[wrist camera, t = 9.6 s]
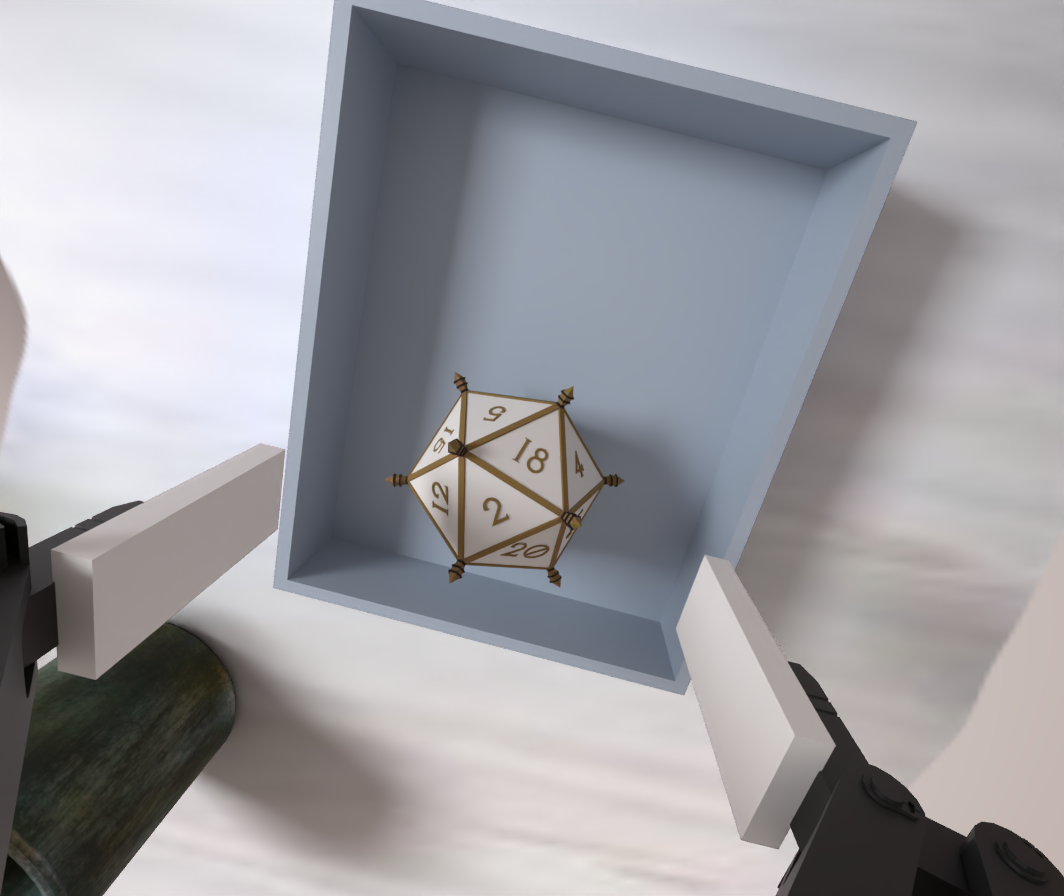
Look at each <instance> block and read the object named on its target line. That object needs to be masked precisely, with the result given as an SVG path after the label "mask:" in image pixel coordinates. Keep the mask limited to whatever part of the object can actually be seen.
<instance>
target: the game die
mask: <svg viewBox="0 0 1064 896" xmlns="http://www.w3.org/2000/svg"><path fill="white" fill-rule="evenodd" d="M465 378H466V377H463V376H461V375H459V374H458V373H456V372H455V379H454V384H456V386H457V387H456V388H457V389H459V390H460V392H461V395H460V396H459V398H458V399H457V401H456V403H455V404H454V406H453V407H452V409H451V410H450V412H449V413H448V415H447V416H446V418H445V420H444V421H443V423H442V424H441V426H440V427H439V429H438V430H437V432H436V433H435V435H434V436H433V438H432V440H431V441H430V443H429V444H428V446H427V447H426V449H425V450H424V452H423V453H422V455H421V456H420V458H419V460H418V461H417V463H416V464H415V466H414V467H413V469H412V470H411V472H410V473H409V475H408V476H403V475H402V474H399V475H396V474H393V476H391V477H389V478H387V479H385V481H387V482H389V483H390V484H392V485H393V486H394V487H395V486H400V487H401V486H402V485H405V484H407V485H408V486H409V487H410V489H411V490H412V492H413V493H414V495H415V496H416V498H417V499H418V501H419V503H420V504H421V506H422V507H423V509H424V510H425V512H426V513H427V515H428V516H429V518H430V519H431V521H432V523H433V524H434V526H435V527H436V529H437V530H438V532H439V533H440V535H441V536H442V538H443V539H444V541H445V543H446V544H447V546H448V547H449V549H450V550H451V552H452V553H453V555H454V556H455V558H456V560H457V562H456V563H455V564H452V568H451V569H449V570H448V573H449V584H450V583H452V582H454V581H456V580H457V579H461V578H462V574H463V573H465V571H464V567H465V565H471V566H488V567H506V568H523V569H541V570H547V571H548V576H547V577H548V578H549V579H550V583H553V584H555V585H556V586H558V587H560V585H561V578H562V577H561V575H559V571H558V570H556V569H555V568H554V566H555V564H556V563H557V561H558V559H559V558H560V556H561V555H562V553H563V551H564V550H565V548H566V546H567V545H568V543H569V542H570V540H571V538H572V537H573V535H574V533H575V532H576V530H577V528H578V527H582V525H581V522H582V520H583V519H584V517H585V515H586V514H587V512H588V510H589V509H590V507H591V506H592V504H593V502H594V501H595V499H596V497H597V496H598V494H599V492H600V491H601V489H602V488H603V486H604V485H609V486H611V487H612V486H615V487H618V485H619V484H621V483H623V482H624V480H623V479H621V478H620V477H618V476H617V474H615V475H611V474H610V475H609V476H606V477H605V476H603V474H602V473H601V471H600V469H599V467H598V466H597V464H596V462H595V460H594V459H593V457H592V455H591V453H590V452H589V450H588V448H587V446H586V445H585V443H584V441H583V439H582V438H581V436H580V434H579V432H578V431H577V429H576V427H575V425H574V424H573V422H572V420H571V418H570V417H569V415H568V413H567V411H566V410H565V408H564V407H565V406H566V405H567V404H570V401H571V400H574V397H573V389H574V386H572V387H570V388H568V389H566V390H565V389H564V390H561V392H562V393H561V394H560V395H558V402H553V401H546V400H538V399H531V398H523V397H516V396H508V395H501V394H494V393H486V392H479V391H471V390H469V389H468V387H467V384H468V382H466V380H465Z"/></svg>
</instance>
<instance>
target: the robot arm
mask: <svg viewBox="0 0 1064 896" xmlns="http://www.w3.org/2000/svg"><path fill="white" fill-rule="evenodd" d="M284 457H285V449H281V448H277V447H273V446H269V445H265V444H261V443H260V444H258V445H256V446H254V447H252V448H250V449H249V450H247V451H245V452H243V453H241V454H239V455H237V456H235V457H233V458H231V459H229V460H227V461H225V462H223V463H221V464H219V465H217V466H215V467H213V468H211V469H209V470H207V471H205V472H203V473H201V474H199V475H197V476H195V477H193V478H191V479H189V480H187V481H185V482H183V483H181V484H179V485H177V486H176V487H174V488H172V489H170V490H168V491H166V492H164V493H162V494H160V495H158V496H156V497H154V498H152V499H150V500H148V501H146V502H142V501H135V502H131V503H127V504H123V505H119V506H115V507H112V508H110V509H108V510H106V511H104V512H102V513H100V514H97V515H95V516H93V517H92V519H87V520H85V521H83V522H81V523H79V524H77V525H75V527H74V528H72V527H70V528H68V529H66V530H64V531H62V532H60V533H58V534H56V535H54V536H52V537H50V538H48V539H46V540H44V541H41V542H39V543H37V544H35V545H33V546H31V547H29V548H28V535H27V525H26V522H25V519H23V518H21V517H19V516H17V515H14V514H8V513H3V512H0V894H1V889H2V883H3V877H4V871H5V865H6V859H7V853H8V847H9V842H10V836H11V830H12V824H13V818H14V812H15V806H16V800H17V795H18V789H19V783H20V777H21V771H22V765H23V759H24V753H25V747H26V742H27V736H28V730H29V724H30V718H31V712H32V706H33V700H34V695H35V689H36V683H37V677H38V667H37V660H38V659H39V658H40V657H42V656H43V655H45V654H46V653H48V652H49V651H50V650H52V649H53V648H55V647H56V646H57V662H58V671H62V672H66V673H70V674H74V675H78V676H82V677H86V678H90V679H94V680H96V679H98V678H99V677H100V676H101V675H102V674H104V673H105V672H106V671H107V670H108V669H110V668H111V667H112V666H113V665H114V664H116V663H117V662H118V661H119V660H120V659H122V658H123V657H124V656H125V655H127V654H128V653H129V652H130V651H131V650H133V649H134V648H135V647H136V646H137V645H139V644H140V643H141V642H142V641H143V640H145V639H146V638H147V637H148V636H149V635H151V634H152V633H153V632H154V631H155V630H157V629H158V628H159V627H160V626H161V625H163V624H164V623H165V622H166V621H168V620H169V619H170V618H171V617H172V616H174V615H175V614H176V613H177V612H178V611H180V610H181V609H182V608H183V607H184V606H186V605H187V604H188V603H189V602H190V601H192V600H193V599H194V598H195V597H196V596H198V595H199V594H200V593H201V592H202V591H204V590H205V589H206V588H207V587H209V586H210V585H211V584H212V583H213V582H215V581H216V580H217V579H218V578H219V577H221V576H222V575H223V574H224V573H225V572H227V571H228V570H229V569H230V568H231V567H233V566H234V565H235V564H236V563H237V562H239V561H240V560H241V559H242V558H243V557H245V556H246V555H247V554H248V553H250V552H251V551H252V550H253V549H254V548H256V547H257V546H258V545H259V544H260V543H262V542H263V541H264V540H265V539H266V538H268V537H269V536H270V535H271V534H272V533H274V532H275V531H276V530H277V529H278V520H279V510H280V499H281V488H282V478H283V467H284ZM676 631H677V634H678V638H679V641H680V644H681V647H682V651H683V654H684V657H685V660H686V664H687V667H688V670H689V673H690V676H691V680H692V683H693V686H694V689H695V693H696V696H697V699H698V702H699V706H700V709H701V712H702V715H703V719H704V722H705V725H706V728H707V732H708V735H709V738H710V741H711V745H712V748H713V751H714V754H715V758H716V761H717V764H718V767H719V771H720V774H721V777H722V780H723V784H724V787H725V790H726V793H727V797H728V800H729V803H730V806H731V809H732V813H733V816H734V819H735V822H736V826H737V829H738V832H739V835H740V839H741V840H743V841H747V842H751V843H755V844H759V845H763V846H767V847H771V848H775V849H779V847H780V845H781V844H782V842H783V840H784V838H785V836H786V835H787V833H788V831H789V829H790V827H791V830H792V832H793V834H794V837H795V839H796V842H797V844H798V847H799V850H798V852H797V854H796V855H795V857H794V859H793V861H792V862H791V864H790V866H789V868H788V869H787V871H786V873H785V875H784V876H783V878H782V880H781V882H780V883H779V885H778V888H779V890H778V892H777V894H776V896H1064V877H1063V875H1062V874H1061V873H1060V872H1059V870H1057V868H1056V867H1055V866H1054V865H1053V864H1052V863H1051V862H1050V861H1049V860H1048V858H1047V857H1046V856H1045V855H1044V854H1043V853H1042V852H1041V851H1039V850H1038V849H1037V848H1035V847H1034V846H1033V845H1032V844H1031V843H1029V842H1028V841H1027V840H1025V839H1023V838H1021V837H1019V836H1018V835H1017V834H1015V833H1013V832H1012V831H1010V830H1008V829H1006V828H1003V827H1001V826H999V825H996V824H994V823H988V822H980V823H978V824H977V825H975V826H974V828H973V829H972V830H971V832H970V833H969V835H968V836H967V837H965V836H963V835H961V834H959V833H957V832H955V831H953V830H951V829H949V828H947V827H945V826H943V825H941V824H939V823H937V822H935V821H933V820H931V819H929V818H927V817H925V813H924V811H923V809H922V808H921V806H920V804H919V802H918V801H917V799H916V798H915V797H914V796H913V795H912V794H911V793H910V792H909V790H908V789H907V788H906V787H905V786H904V785H902V784H901V783H900V782H899V781H897V780H896V779H895V778H894V777H892V776H891V775H890V774H888V773H886V772H884V771H883V770H881V769H879V768H877V767H876V766H873V765H870V764H869V763H868V762H867V760H866V759H865V757H864V755H863V754H862V752H861V751H860V749H859V747H858V746H857V744H856V743H855V741H854V739H853V738H852V736H851V735H850V733H849V731H848V730H847V728H846V727H845V725H844V723H843V722H842V720H841V719H840V717H837V712H836V711H835V709H834V707H833V706H832V704H831V703H830V702H828V698H827V696H826V695H825V693H824V691H823V690H822V688H821V687H820V685H819V683H818V682H817V681H816V680H815V679H814V678H813V677H812V676H811V675H810V674H809V673H808V672H807V671H806V670H805V669H804V668H803V667H802V666H801V665H800V664H797V663H793V662H789V661H787V660H786V658H785V657H784V655H783V653H782V652H781V650H780V648H779V646H778V645H777V643H776V641H775V639H774V638H773V636H772V634H771V633H770V631H769V629H768V627H767V626H766V624H765V622H764V620H763V619H762V617H761V615H760V613H759V612H758V610H757V608H756V607H755V605H754V603H753V601H752V600H751V598H750V596H749V594H748V593H747V591H746V589H745V588H744V586H743V584H742V582H741V581H740V579H739V577H738V575H737V574H736V572H735V570H734V569H733V567H732V565H731V563H730V562H729V561H728V560H724V559H720V558H716V557H712V556H708V555H704V558H703V560H702V563H701V565H700V568H699V570H698V573H697V575H696V578H695V581H694V583H693V586H692V588H691V591H690V593H689V596H688V599H687V601H686V604H685V606H684V609H683V611H682V614H681V616H680V619H679V622H678V624H677V627H676Z"/></svg>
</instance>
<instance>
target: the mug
mask: <svg viewBox="0 0 1064 896" xmlns="http://www.w3.org/2000/svg"><path fill="white" fill-rule="evenodd" d="M235 706H236V701H235V692H234V688H233V685H232V682H231V679H230V677H229V675H228V673H227V671H226V669H225V668H224V666H223V664H222V663H221V661H220V660H219V659H218V658H217V656H216V655H215V654H214V653H213V652H212V651H211V650H210V649H209V648H208V647H207V646H206V645H205V644H204V643H203V642H201V641H200V640H199V639H197V638H196V637H195V636H193V635H192V634H190V633H188V632H186V631H185V630H183V629H181V628H178V627H176V626H174V625H171V624H168V623H164V624H163V625H161V626H160V627H159V628H158V629H157V630H155V631H154V632H153V633H152V634H151V635H149V636H148V637H147V638H146V639H145V640H143V641H142V642H141V643H140V644H139V645H137V646H136V647H135V648H134V649H133V650H131V651H130V652H129V653H128V654H127V655H125V656H124V657H123V658H122V659H120V660H119V661H118V662H117V663H116V664H114V665H113V666H112V667H111V668H110V669H108V670H107V671H106V672H105V673H104V674H102V675H101V676H100V677H99V678H98V679H96V680H94V679H90V678H86V677H82V676H78V675H74V674H70V673H66V672H62V671H58V662H57V657H56V658H55V659H53V660H52V661H51V662H49V663H48V664H46V665H45V666H43V667H42V668H40V669H39V670H38V677H37V683H36V689H35V695H34V700H33V706H32V712H31V718H30V724H29V730H28V736H27V742H26V747H25V753H24V759H23V765H22V771H21V777H20V783H19V789H18V795H17V800H16V806H15V812H14V818H13V824H12V830H11V836H10V842H9V847H8V853H7V859H6V865H5V871H4V877H3V883H2V889H1V894H0V896H103V894H104V893H105V892H106V891H107V889H108V888H109V887H110V886H111V884H112V883H113V882H114V881H115V879H116V878H117V877H118V876H119V874H120V873H121V872H122V871H123V869H124V868H125V867H126V865H127V864H128V863H129V862H130V860H131V859H132V858H133V857H134V855H135V854H136V853H137V852H138V850H139V849H140V848H141V847H142V845H143V844H144V843H145V842H146V840H147V839H148V838H149V837H150V835H151V834H152V833H153V831H154V830H155V829H156V828H157V826H158V825H159V824H160V823H161V821H162V820H163V819H164V818H165V816H166V815H167V814H168V813H169V811H170V810H171V809H172V808H173V806H174V805H175V804H176V802H177V801H178V800H179V799H180V797H181V796H182V795H183V794H184V792H185V791H186V790H187V789H188V787H189V786H190V785H191V784H192V782H193V781H194V780H195V779H196V777H197V776H198V775H199V774H200V772H201V771H202V770H203V768H204V767H205V766H206V765H207V763H208V762H209V761H210V760H211V758H212V757H213V756H214V755H215V753H216V752H217V751H218V750H219V748H220V747H221V746H222V745H223V743H224V742H225V741H226V739H227V738H228V736H229V734H230V732H231V730H232V727H233V723H234V717H235Z"/></svg>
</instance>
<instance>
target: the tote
mask: <svg viewBox="0 0 1064 896" xmlns="http://www.w3.org/2000/svg"><path fill="white" fill-rule="evenodd" d="M916 124H917V122H916V121H912V120H908V119H904V118H900V117H896V116H892V115H888V114H884V113H880V112H876V111H872V110H868V109H864V108H860V107H856V106H852V105H847V104H843V103H839V102H835V101H831V100H827V99H823V98H819V97H815V96H811V95H807V94H803V93H799V92H795V91H791V90H787V89H783V88H778V87H774V86H770V85H766V84H762V83H758V82H754V81H750V80H746V79H742V78H738V77H734V76H730V75H726V74H722V73H718V72H714V71H709V70H705V69H701V68H697V67H693V66H689V65H685V64H681V63H677V62H673V61H669V60H665V59H661V58H657V57H653V56H649V55H645V54H640V53H636V52H632V51H628V50H624V49H620V48H616V47H612V46H608V45H604V44H600V43H596V42H592V41H588V40H584V39H580V38H576V37H571V36H567V35H563V34H559V33H555V32H551V31H547V30H543V29H539V28H535V27H531V26H527V25H523V24H519V23H515V22H511V21H507V20H502V19H498V18H494V17H490V16H486V15H482V14H478V13H474V12H470V11H466V10H462V9H458V8H454V7H450V6H446V5H442V4H438V3H433V2H429V1H425V0H334V7H333V17H332V27H331V36H330V46H329V55H328V65H327V75H326V84H325V94H324V103H323V113H322V123H321V132H320V142H319V152H318V161H317V171H316V180H315V190H314V200H313V209H312V219H311V229H310V238H309V248H308V257H307V267H306V277H305V286H304V296H303V306H302V315H301V325H300V334H299V344H298V354H297V363H296V373H295V383H294V392H293V402H292V411H291V421H290V431H289V440H288V450H287V459H286V469H285V479H284V488H283V498H282V508H281V517H280V527H279V536H278V546H277V556H276V565H275V575H274V585H273V588H276V589H280V590H283V591H287V592H291V593H295V594H299V595H302V596H306V597H310V598H314V599H318V600H322V601H325V602H329V603H333V604H337V605H341V606H345V607H348V608H352V609H356V610H360V611H364V612H367V613H371V614H375V615H379V616H383V617H387V618H390V619H394V620H398V621H402V622H406V623H409V624H413V625H417V626H421V627H425V628H429V629H432V630H436V631H440V632H444V633H448V634H451V635H455V636H459V637H463V638H467V639H471V640H474V641H478V642H482V643H486V644H490V645H493V646H497V647H501V648H505V649H509V650H513V651H516V652H520V653H524V654H528V655H532V656H536V657H539V658H543V659H547V660H551V661H555V662H558V663H562V664H566V665H570V666H574V667H578V668H581V669H585V670H589V671H593V672H597V673H600V674H604V675H608V676H612V677H616V678H620V679H623V680H627V681H631V682H635V683H639V684H642V685H646V686H650V687H654V688H658V689H662V690H665V691H669V692H673V693H677V694H681V695H685V692H686V690H687V687H688V685H689V682H690V680H691V676H690V673H689V670H688V667H687V664H686V660H685V657H684V654H683V651H682V647H681V644H680V641H679V638H678V634H677V631H676V627H677V624H678V622H679V619H680V616H681V614H682V611H683V609H684V606H685V604H686V601H687V599H688V596H689V593H690V591H691V588H692V586H693V583H694V581H695V578H696V575H697V573H698V570H699V568H700V565H701V563H702V560H703V558H704V555H708V556H712V557H716V558H720V559H724V560H728V561H729V562H730V563H731V565H732V567H733V569H734V570H735V569H736V567H737V564H738V562H739V559H740V557H741V554H742V552H743V550H744V547H745V545H746V542H747V540H748V537H749V535H750V532H751V530H752V527H753V525H754V522H755V520H756V518H757V515H758V513H759V510H760V508H761V505H762V503H763V500H764V498H765V495H766V493H767V491H768V488H769V486H770V483H771V481H772V478H773V476H774V473H775V471H776V468H777V466H778V463H779V461H780V459H781V456H782V454H783V451H784V449H785V446H786V444H787V441H788V439H789V436H790V434H791V432H792V429H793V427H794V424H795V422H796V419H797V417H798V414H799V412H800V409H801V407H802V404H803V402H804V400H805V397H806V395H807V392H808V390H809V387H810V385H811V382H812V380H813V377H814V375H815V373H816V370H817V368H818V365H819V363H820V360H821V358H822V355H823V353H824V350H825V348H826V345H827V343H828V341H829V338H830V336H831V333H832V331H833V328H834V326H835V323H836V321H837V318H838V316H839V313H840V311H841V309H842V306H843V304H844V301H845V299H846V296H847V294H848V291H849V289H850V286H851V284H852V282H853V279H854V277H855V274H856V272H857V269H858V267H859V264H860V262H861V259H862V257H863V254H864V252H865V250H866V247H867V245H868V242H869V240H870V237H871V235H872V232H873V230H874V227H875V225H876V223H877V220H878V218H879V215H880V213H881V210H882V208H883V205H884V203H885V200H886V198H887V195H888V193H889V191H890V188H891V186H892V183H893V181H894V178H895V176H896V173H897V171H898V168H899V166H900V163H901V161H902V159H903V156H904V154H905V151H906V149H907V146H908V144H909V141H910V139H911V136H912V134H913V132H914V129H915V127H916ZM455 372H456V373H458V374H459V375H461V376H463V377H466V378H465V380H466V382H468V384H467V387H468V389H469V390H471V391H479V392H486V393H494V394H501V395H508V396H516V397H523V398H531V399H538V400H546V401H553V402H558V395H560V394H561V393H562V392H561V390H564V389H565V390H566V389H568V388H570V387H572V386H574V389H573V397H574V400H571V401H570V404H567V405H566V406H565V407H564V408H565V410H566V411H567V413H568V415H569V417H570V418H571V420H572V422H573V424H574V425H575V427H576V429H577V431H578V432H579V434H580V436H581V438H582V439H583V441H584V443H585V445H586V446H587V448H588V450H589V452H590V453H591V455H592V457H593V459H594V460H595V462H596V464H597V466H598V467H599V469H600V471H601V473H602V474H603V476H605V477H606V476H609V475H610V474H611V475H615V474H617V476H618V477H620V478H621V479H623V480H624V482H623V483H621V484H619V485H618V487H615V486H612V487H611V486H609V485H604V486H603V488H602V489H601V491H600V492H599V494H598V496H597V497H596V499H595V501H594V502H593V504H592V506H591V507H590V509H589V510H588V512H587V514H586V515H585V517H584V519H583V520H582V522H581V525H582V527H578V528H577V530H576V532H575V533H574V535H573V537H572V538H571V540H570V542H569V543H568V545H567V546H566V548H565V550H564V551H563V553H562V555H561V556H560V558H559V559H558V561H557V563H556V564H555V566H554V568H555V569H556V570H558V571H559V575H561V577H562V578H561V585H560V587H558V586H556V585H555V584H553V583H550V579H549V578H548V577H547V576H548V571H547V570H541V569H523V568H506V567H488V566H471V565H465V567H464V571H465V573H463V574H462V578H461V579H457V580H456V581H454V582H452V583H450V584H449V573H448V570H449V569H451V568H452V564H455V563H456V562H457V560H456V558H455V556H454V555H453V553H452V552H451V550H450V549H449V547H448V546H447V544H446V543H445V541H444V539H443V538H442V536H441V535H440V533H439V532H438V530H437V529H436V527H435V526H434V524H433V523H432V521H431V519H430V518H429V516H428V515H427V513H426V512H425V510H424V509H423V507H422V506H421V504H420V503H419V501H418V499H417V498H416V496H415V495H414V493H413V492H412V490H411V489H410V487H409V486H408V485H407V484H405V485H402V486H401V487H400V486H395V487H394V486H393V485H392V484H390V483H389V482H387V481H385V479H387V478H389V477H391V476H393V474H396V475H399V474H402V475H403V476H408V475H409V473H410V472H411V470H412V469H413V467H414V466H415V464H416V463H417V461H418V460H419V458H420V456H421V455H422V453H423V452H424V450H425V449H426V447H427V446H428V444H429V443H430V441H431V440H432V438H433V436H434V435H435V433H436V432H437V430H438V429H439V427H440V426H441V424H442V423H443V421H444V420H445V418H446V416H447V415H448V413H449V412H450V410H451V409H452V407H453V406H454V404H455V403H456V401H457V399H458V398H459V396H460V395H461V392H460V390H459V389H457V388H456V387H457V386H456V384H454V379H455Z"/></svg>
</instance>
